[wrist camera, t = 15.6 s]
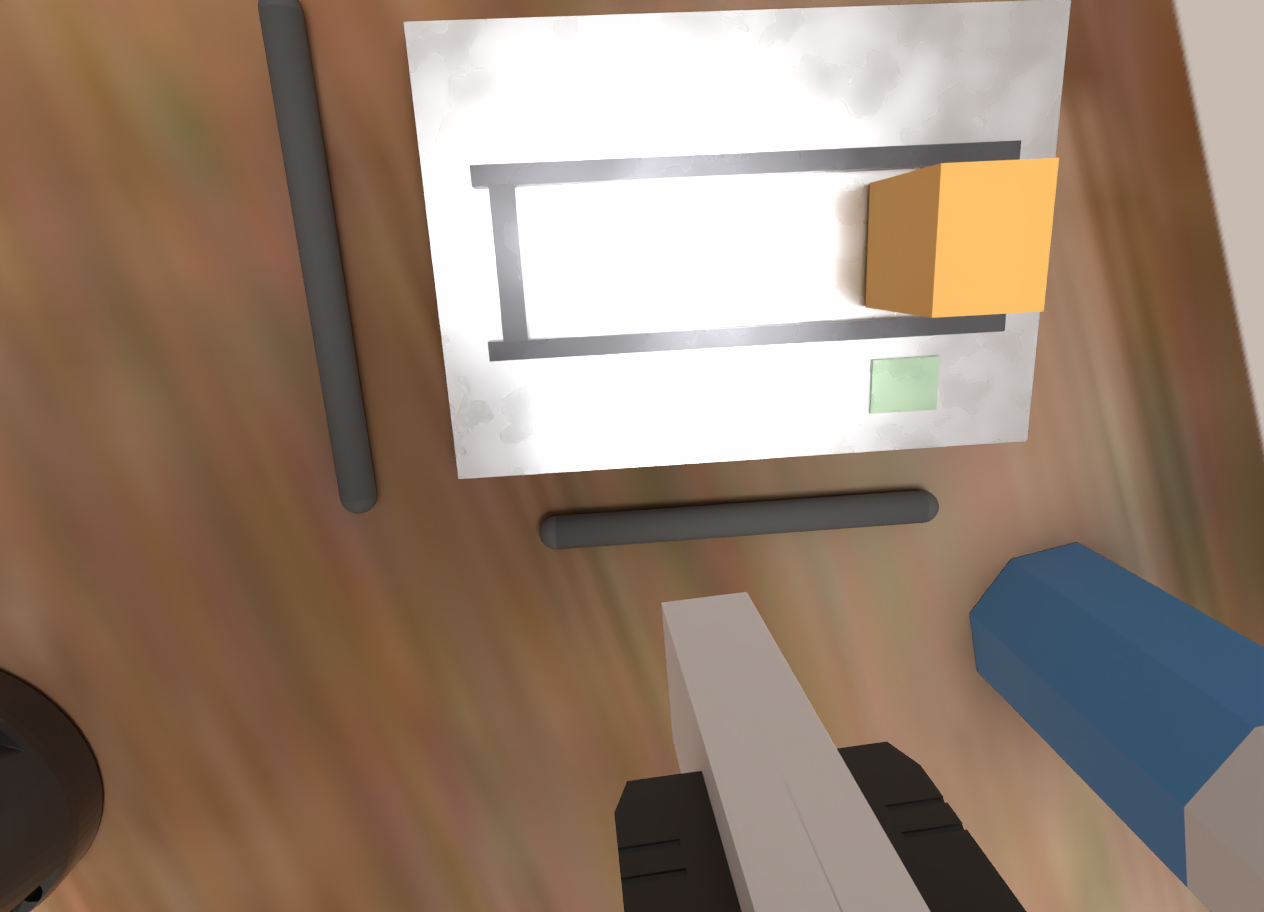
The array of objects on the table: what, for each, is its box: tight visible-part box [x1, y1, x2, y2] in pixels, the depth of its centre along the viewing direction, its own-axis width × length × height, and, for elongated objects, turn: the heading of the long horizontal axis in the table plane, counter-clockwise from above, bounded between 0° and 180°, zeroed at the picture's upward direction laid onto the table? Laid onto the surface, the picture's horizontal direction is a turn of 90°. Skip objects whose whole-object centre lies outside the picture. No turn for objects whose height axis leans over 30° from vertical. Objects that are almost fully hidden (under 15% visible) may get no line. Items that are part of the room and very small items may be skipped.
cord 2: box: [540, 490, 939, 549], centre depth 35 cm, size 20×2×2 cm, turn 93°
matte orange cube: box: [866, 158, 1059, 318], centre depth 27 cm, size 4×5×6 cm
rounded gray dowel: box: [258, 0, 377, 513], centre depth 30 cm, size 22×2×2 cm, turn 3°
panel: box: [404, 0, 1071, 479], centre depth 30 cm, size 26×18×4 cm
